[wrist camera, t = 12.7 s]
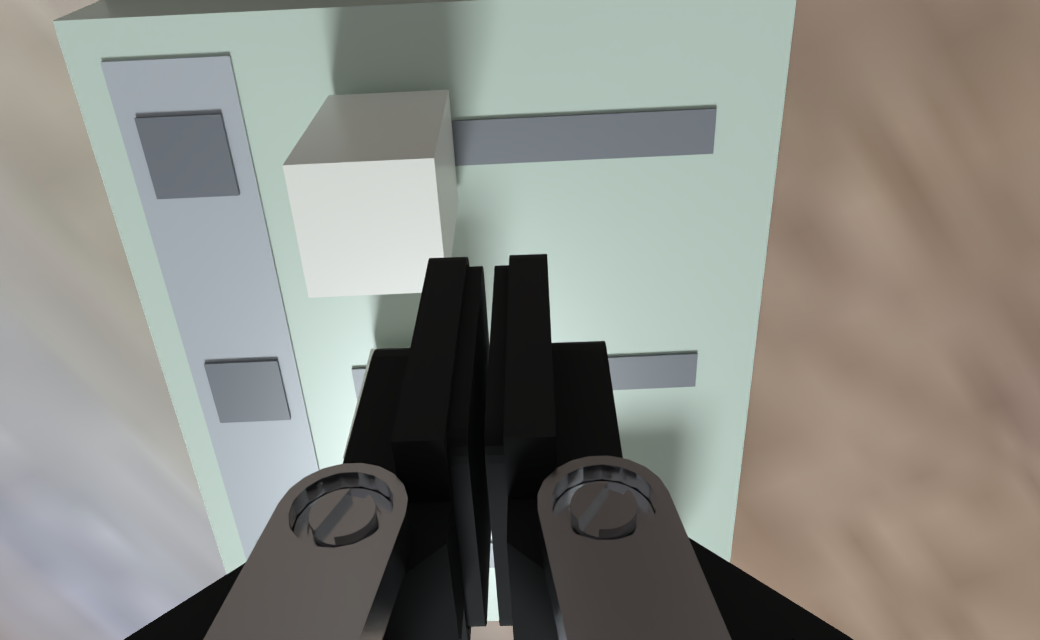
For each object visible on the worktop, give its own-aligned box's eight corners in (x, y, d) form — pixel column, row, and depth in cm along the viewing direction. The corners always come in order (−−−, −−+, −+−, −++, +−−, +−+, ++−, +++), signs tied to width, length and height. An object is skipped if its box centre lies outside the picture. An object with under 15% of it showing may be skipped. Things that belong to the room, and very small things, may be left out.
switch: (448, 89, 21) (433, 157, 16) (458, 202, 22) (447, 291, 18) (328, 95, 21) (282, 165, 17) (346, 207, 22) (308, 298, 18)
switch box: (764, -34, 23) (801, -15, 20) (707, 551, 34) (725, 615, 31) (103, -2, 23) (47, 22, 20) (264, 570, 34) (242, 636, 31)
